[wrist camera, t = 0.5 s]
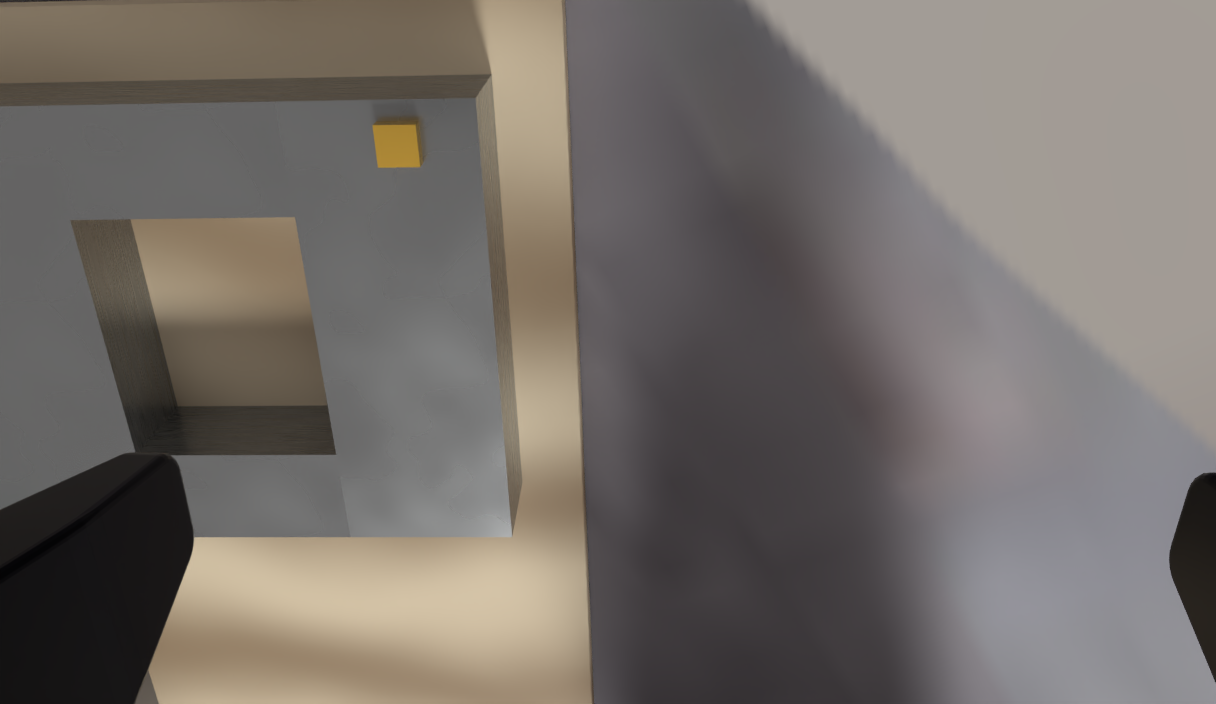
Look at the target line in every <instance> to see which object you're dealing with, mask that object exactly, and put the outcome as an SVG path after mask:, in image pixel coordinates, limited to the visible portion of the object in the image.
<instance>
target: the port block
mask: <svg viewBox="0 0 1216 704" xmlns="http://www.w3.org/2000/svg"><path fill="white" fill-rule="evenodd" d="M271 217H295V220H296V226H297V232H298V238H299V243H300V249H301V255H302V261H303V266H304V272H305V278H306V284H307V289H308V295H309V301H310V307H311V312H312V318H313V324H314V330H315V335H316V341H317V347H318V353H319V358H320V364H321V370H322V376H323V381H324V387H325V393H326V399H327V404H328V405H323V406H178V405H177V401H176V397H175V394H174V390H173V386H172V382H171V378H170V374H169V370H168V366H167V362H166V358H165V354H164V350H163V346H162V342H161V338H160V334H159V330H158V326H157V322H156V318H155V314H154V310H153V306H152V302H151V298H150V294H149V290H148V286H147V283H146V279H145V275H144V271H143V267H142V263H141V259H140V255H139V251H138V247H137V243H136V239H135V235H134V231H133V227H132V223H131V219H194V218H271ZM130 452H137V453H166V454H169V455H171V456H172V457H173V458H175V459H176V461H177V463H178V464H179V467H180V470H181V474H182V478H183V483H184V487H185V492H186V496H187V501H188V505H189V510H190V514H191V519H192V523H193V529H194V537H512V535H513V530H514V525H515V520H516V514H517V509H518V504H519V498H520V493H521V488H522V470H521V457H520V443H519V430H518V417H517V404H516V390H515V377H514V364H513V350H512V337H511V324H510V311H509V297H508V284H507V271H506V257H505V244H504V231H503V217H502V204H501V191H500V178H499V164H498V151H497V138H496V124H495V111H494V98H493V85H492V74H480V75H426V76H371V77H317V78H263V79H209V80H155V81H101V82H47V83H0V509H2V508H4V507H7V506H9V505H11V504H13V503H15V502H18V501H20V500H22V499H24V498H26V497H29V496H31V495H33V494H35V493H37V492H40V491H42V490H44V489H46V488H48V487H51V486H53V485H55V484H57V483H59V482H62V481H64V480H66V479H68V478H70V477H73V476H75V475H77V474H79V473H81V472H84V471H86V470H88V469H90V468H92V467H95V466H97V465H99V464H101V463H103V462H106V461H108V460H110V459H112V458H114V457H117V456H119V455H121V454H124V453H130Z"/></svg>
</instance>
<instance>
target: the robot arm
mask: <svg viewBox="0 0 1216 704" xmlns="http://www.w3.org/2000/svg"><path fill="white" fill-rule="evenodd" d="M193 546H194V529H193V523H192V519H191V514H190V510H189V505H188V501H187V496H186V492H185V487H184V483H183V478H182V474H181V470H180V467H179V464H178V463H177V461H176V459H175V458H173V457H172V456H171V455H169V454H166V453H137V452H130V453H124V454H121V455H119V456H117V457H114V458H112V459H110V460H108V461H106V462H103V463H101V464H99V465H97V466H95V467H92V468H90V469H88V470H86V471H84V472H81V473H79V474H77V475H75V476H73V477H70V478H68V479H66V480H64V481H62V482H59V483H57V484H55V485H53V486H51V487H48V488H46V489H44V490H42V491H40V492H37V493H35V494H33V495H31V496H29V497H26V498H24V499H22V500H20V501H18V502H15V503H13V504H11V505H9V506H7V507H4V508H2V509H0V704H135V702H136V700H137V697H138V695H139V692H140V690H141V688H142V685H143V683H144V680H145V678H146V675H147V673H148V670H149V667H150V665H151V662H152V659H153V657H154V654H155V651H156V649H157V646H158V643H159V641H160V638H161V635H162V633H163V630H164V628H165V625H166V622H167V620H168V617H169V614H170V612H171V609H172V606H173V604H174V601H175V598H176V596H177V593H178V590H179V588H180V585H181V582H182V580H183V577H184V574H185V572H186V569H187V566H188V564H189V561H190V558H191V555H192V551H193ZM1169 563H1170V570H1171V575H1172V578H1173V581H1174V584H1175V586H1176V588H1177V591H1178V593H1179V596H1180V598H1181V600H1182V603H1183V605H1184V608H1185V610H1186V612H1187V615H1188V617H1189V620H1190V622H1191V624H1192V627H1193V629H1194V632H1195V634H1196V636H1197V639H1198V641H1199V644H1200V646H1201V649H1202V651H1203V653H1204V656H1205V658H1206V661H1207V663H1208V665H1209V668H1210V670H1211V673H1212V675H1213V677H1214V680H1215V682H1216V473H1203V474H1201V475H1200V476H1198V477H1196V478H1195V479H1194V481H1193V482H1192V483H1191V485H1190V487H1189V490H1188V492H1187V496H1186V499H1185V502H1184V505H1183V509H1182V512H1181V515H1180V519H1179V522H1178V525H1177V528H1176V532H1175V535H1174V538H1173V541H1172V545H1171V549H1170V556H1169Z"/></svg>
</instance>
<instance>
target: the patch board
mask: <svg viewBox="0 0 1216 704" xmlns="http://www.w3.org/2000/svg"><path fill="white" fill-rule="evenodd" d="M480 74H492V85H493V98H494V111H495V124H496V138H497V151H498V164H499V178H500V191H501V204H502V217H503V231H504V244H505V257H506V271H507V284H508V297H509V311H510V324H511V337H512V350H513V364H514V377H515V390H516V404H517V417H518V430H519V443H520V457H521V470H522V488H521V493H520V498H519V504H518V509H517V514H516V520H515V525H514V530H513V535H512V537H194V546H193V551H192V555H191V558H190V561H189V564H188V566H187V569H186V572H185V574H184V577H183V580H182V582H181V585H180V588H179V590H178V593H177V596H176V598H175V601H174V604H173V606H172V609H171V612H170V614H169V617H168V620H167V622H166V625H165V628H164V630H163V633H162V635H161V638H160V641H159V643H158V646H157V649H156V651H155V654H154V657H153V659H152V662H151V665H150V667H149V674H150V677H151V680H152V683H153V686H154V690H155V693H156V696H157V699H158V703H159V704H594V691H593V667H592V643H591V619H590V595H589V570H588V546H587V522H586V498H585V473H584V449H583V425H582V401H581V377H580V352H579V328H578V304H577V280H576V255H575V231H574V207H573V183H572V159H571V134H570V110H569V86H568V62H567V37H566V13H565V0H87V1H41V2H0V83H47V82H101V81H155V80H209V79H263V78H317V77H371V76H426V75H480ZM131 223H132V227H133V231H134V235H135V239H136V243H137V247H138V251H139V255H140V259H141V263H142V267H143V271H144V275H145V279H146V283H147V286H148V290H149V294H150V298H151V302H152V306H153V310H154V314H155V318H156V322H157V326H158V330H159V334H160V338H161V342H162V346H163V350H164V354H165V358H166V362H167V366H168V370H169V374H170V378H171V382H172V386H173V390H174V394H175V397H176V401H177V405H178V406H323V405H328V404H327V399H326V393H325V387H324V381H323V376H322V370H321V364H320V358H319V353H318V347H317V341H316V335H315V330H314V324H313V318H312V312H311V307H310V301H309V295H308V289H307V284H306V278H305V272H304V266H303V261H302V255H301V249H300V243H299V238H298V232H297V226H296V220H295V217H271V218H194V219H131Z"/></svg>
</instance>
